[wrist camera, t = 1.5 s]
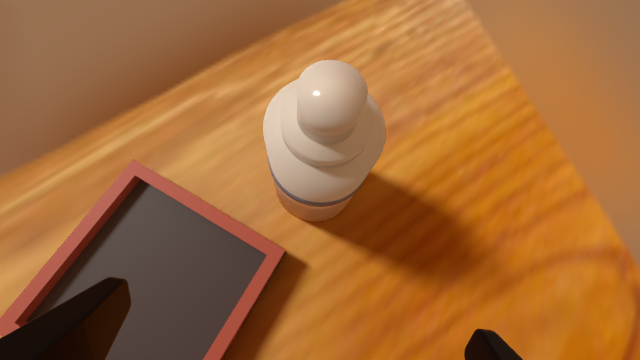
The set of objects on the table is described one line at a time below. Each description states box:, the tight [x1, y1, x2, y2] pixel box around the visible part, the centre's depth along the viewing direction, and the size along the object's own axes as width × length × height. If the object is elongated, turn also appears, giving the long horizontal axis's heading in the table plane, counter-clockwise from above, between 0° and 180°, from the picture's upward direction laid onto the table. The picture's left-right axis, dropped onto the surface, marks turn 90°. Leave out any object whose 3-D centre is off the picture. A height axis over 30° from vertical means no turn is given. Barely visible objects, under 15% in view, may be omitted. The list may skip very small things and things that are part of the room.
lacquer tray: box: [0, 159, 286, 360], centre depth 19 cm, size 12×12×2 cm
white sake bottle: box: [263, 60, 386, 222], centre depth 17 cm, size 6×6×12 cm
